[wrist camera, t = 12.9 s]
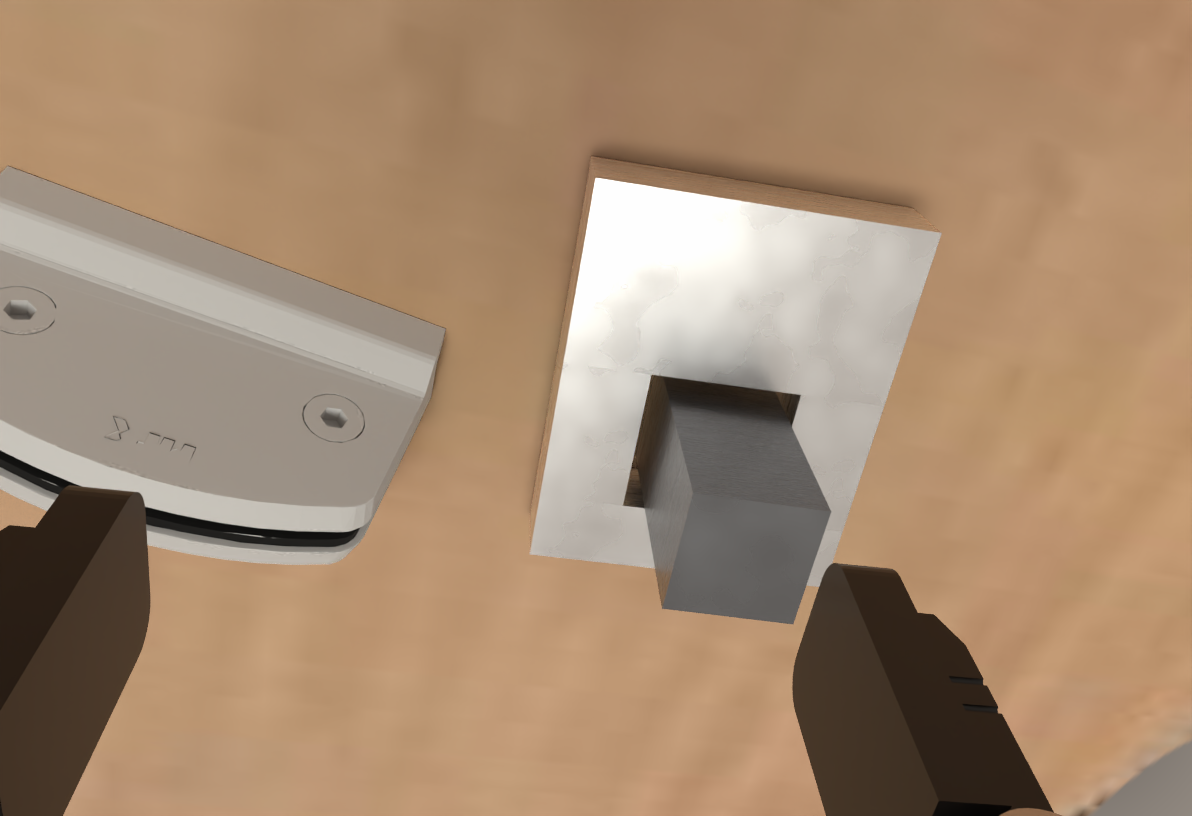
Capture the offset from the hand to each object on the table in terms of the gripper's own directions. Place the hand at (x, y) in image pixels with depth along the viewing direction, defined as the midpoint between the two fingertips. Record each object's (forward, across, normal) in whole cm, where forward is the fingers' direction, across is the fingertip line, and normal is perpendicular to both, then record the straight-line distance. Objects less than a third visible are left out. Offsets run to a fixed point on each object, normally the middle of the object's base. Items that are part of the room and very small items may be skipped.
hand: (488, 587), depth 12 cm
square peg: (+26, -9, +11) cm, 30 cm away
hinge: (+27, +10, +11) cm, 31 cm away
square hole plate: (+26, -9, +9) cm, 29 cm away
